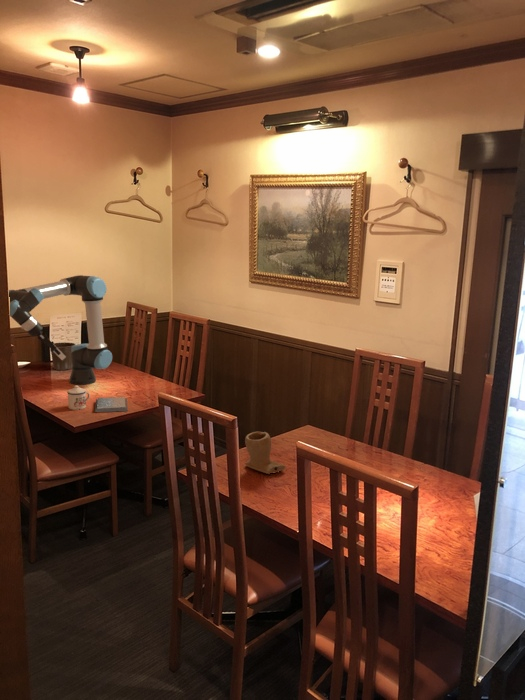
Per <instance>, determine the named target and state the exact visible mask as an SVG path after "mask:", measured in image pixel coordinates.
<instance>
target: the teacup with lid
mask: <svg viewBox="0 0 525 700" xmlns="http://www.w3.org/2000/svg"><path fill="white" fill-rule="evenodd" d="M86 396H87V397H86ZM90 397H91V393H90V392H88V391H86V389H85V388H83V387H82V388H81V387H80V386H79V385H74V387H72V388H70V389H68V390H67V403H68V404H67V405H68V406H67V407H68V409H69V410H72V411H73V410H74V411H78V410H79V409H80V410H84V409H85V408H86V407H87V401H88V400H89V399H90ZM80 410H79V411H80Z"/></svg>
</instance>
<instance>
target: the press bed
mask: <svg viewBox="0 0 525 700" xmlns="http://www.w3.org/2000/svg"><path fill="white" fill-rule="evenodd" d="M94 406H95V407H94V413H95V412H99V413H112V412H113V413H114V412H115V413H116V411H119V412H128V398H127V397H126V396H116V397H98V398H97V399H95V405H94Z"/></svg>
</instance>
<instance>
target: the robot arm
mask: <svg viewBox="0 0 525 700" xmlns="http://www.w3.org/2000/svg"><path fill="white" fill-rule="evenodd" d="M8 290H9V297H10V315H9V317H11V318H12V319H13V320H14V321H15V322H16V323H17V324H18V326H20V329H21V330H24V331H26V333H27V334H28V335H29V336H30V337H31V338H32V337H33V338H34V337H35V336H37V339H38V340H40V341H41V343H43V344H46V346H47V347H48V348H49V349H51V351H50V353H51V352H54V353H55V354H56V355H57V356H58V357H59V358H60V359H61V360H63V359H64V358H65V357H66V356H65V355H64V354H63V353H62V352H61V351H60V350H59V349H58V348H57V347H56V346H55V345H54V344H53V343H55V342H54V341H53V340H52V341H51V340H50V338H49V337H48V336H47V334H46V333H45V332H42V330H43V329H44V326H43V325H42V324H41V323H40V322H38V319H36V318H35V317H34V316H33V315H32V314H31V312H32V311H33V310H34V309H35V308H36V307H37V306H38V305H39V304H41V302H42V301H43V300H44V299H48V298H53V297H57V296H62V295H63V296H72V295H73V296H81V301H82V302H83V303H84V305H85V317H86V327H87V338H88V343H78V344H75V345H73V346H72V348H71V357H72V369H71V373H70V376H69V383H70V384H71V385H76V386H79V385H80V386H81V385H82V386H83V385H89V384H94V383H95V382H96V381H97V380H96V379H97V378H96V374H95V371H94V370H93V369H97V370H104V369H108V367H109V366H110V364H112V361H113V354H112V352H111V351H110V350H109V349H108V344H107V343H105V337H104V336H105V335H104V326H103V325H104V324H103V314H102V305H101V303H102V302H103V300H104V297H105V296H106V293H107V291H108V290H107V285H106V282H105V281H104V279H102V278H101V277H99V276H95V275H94V276H93V275H83V274H81V275H79V274H78V275H74V276H69V277H65V278H60V280H58V281H54V282H50V283H45V284H39V285H35V286H31V287H25V288H22V289H21V288H20V289H16V290H15V289H8Z"/></svg>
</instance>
